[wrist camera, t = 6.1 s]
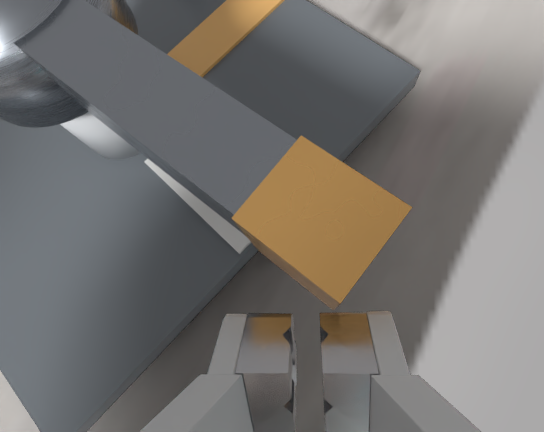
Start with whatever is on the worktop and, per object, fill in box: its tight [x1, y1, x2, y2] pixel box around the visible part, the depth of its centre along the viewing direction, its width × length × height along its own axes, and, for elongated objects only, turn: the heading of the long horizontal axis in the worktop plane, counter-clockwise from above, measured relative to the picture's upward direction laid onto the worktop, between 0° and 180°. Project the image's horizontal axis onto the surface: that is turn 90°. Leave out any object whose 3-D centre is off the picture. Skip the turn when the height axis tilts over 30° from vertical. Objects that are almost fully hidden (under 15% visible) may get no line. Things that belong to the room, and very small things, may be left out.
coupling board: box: [0, 0, 420, 432], centre depth 16 cm, size 24×20×10 cm
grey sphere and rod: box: [0, 0, 412, 310], centre depth 11 cm, size 7×18×4 cm, turn 51°
